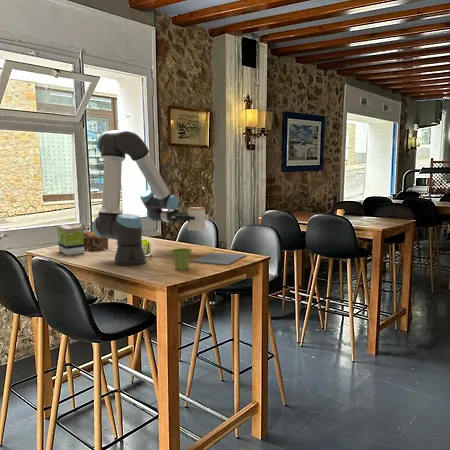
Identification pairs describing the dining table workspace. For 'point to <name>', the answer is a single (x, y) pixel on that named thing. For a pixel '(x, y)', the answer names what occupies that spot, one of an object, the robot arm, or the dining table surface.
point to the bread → (94, 241)
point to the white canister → (197, 224)
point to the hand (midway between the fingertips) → (204, 217)
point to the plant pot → (181, 258)
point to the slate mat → (218, 258)
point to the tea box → (70, 239)
